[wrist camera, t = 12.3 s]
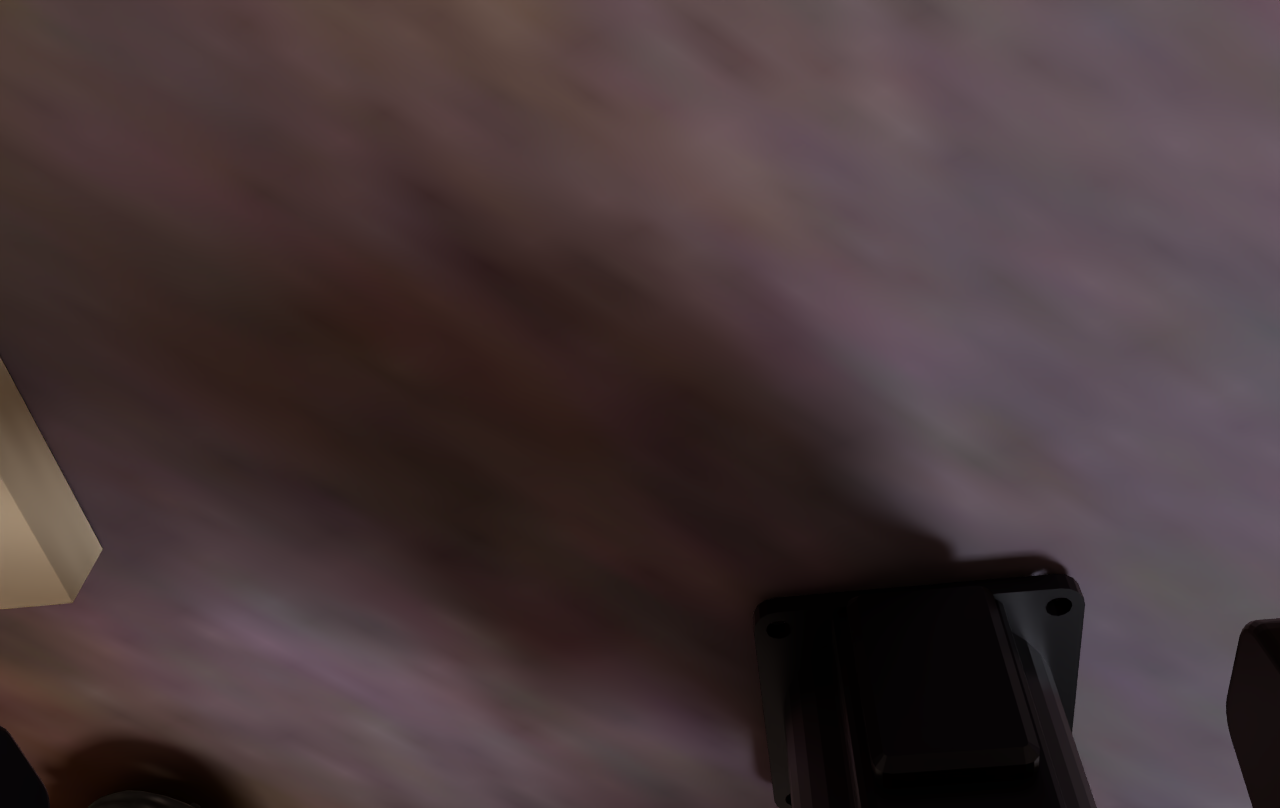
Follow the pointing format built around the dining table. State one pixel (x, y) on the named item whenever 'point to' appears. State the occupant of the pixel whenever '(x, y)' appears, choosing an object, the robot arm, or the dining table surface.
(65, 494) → the rail board
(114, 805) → the milk frother
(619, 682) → the dining table surface
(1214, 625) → the dining table surface
